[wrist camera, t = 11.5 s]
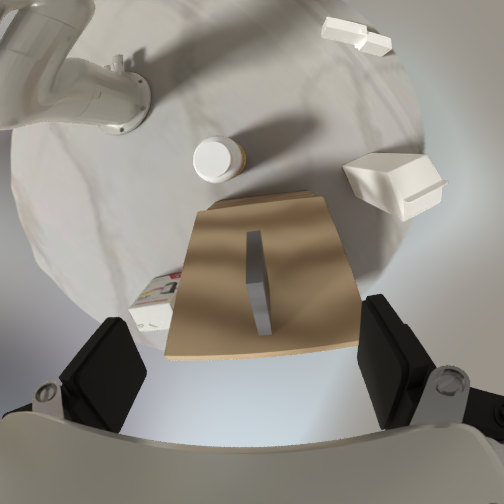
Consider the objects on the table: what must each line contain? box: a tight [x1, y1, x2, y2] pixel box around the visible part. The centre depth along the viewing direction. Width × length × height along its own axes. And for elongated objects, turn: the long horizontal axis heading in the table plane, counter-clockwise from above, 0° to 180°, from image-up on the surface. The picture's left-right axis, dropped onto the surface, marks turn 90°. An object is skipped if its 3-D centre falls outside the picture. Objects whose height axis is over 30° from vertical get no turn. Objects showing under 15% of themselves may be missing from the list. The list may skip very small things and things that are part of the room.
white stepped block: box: [322, 17, 392, 57], centre depth 33 cm, size 15×11×6 cm
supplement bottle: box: [193, 136, 246, 183], centre depth 38 cm, size 7×7×13 cm
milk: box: [342, 153, 449, 221], centre depth 33 cm, size 6×6×22 cm
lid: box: [164, 196, 362, 360], centre depth 25 cm, size 20×16×7 cm
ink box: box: [129, 273, 182, 332], centre depth 47 cm, size 9×5×12 cm, turn 104°
